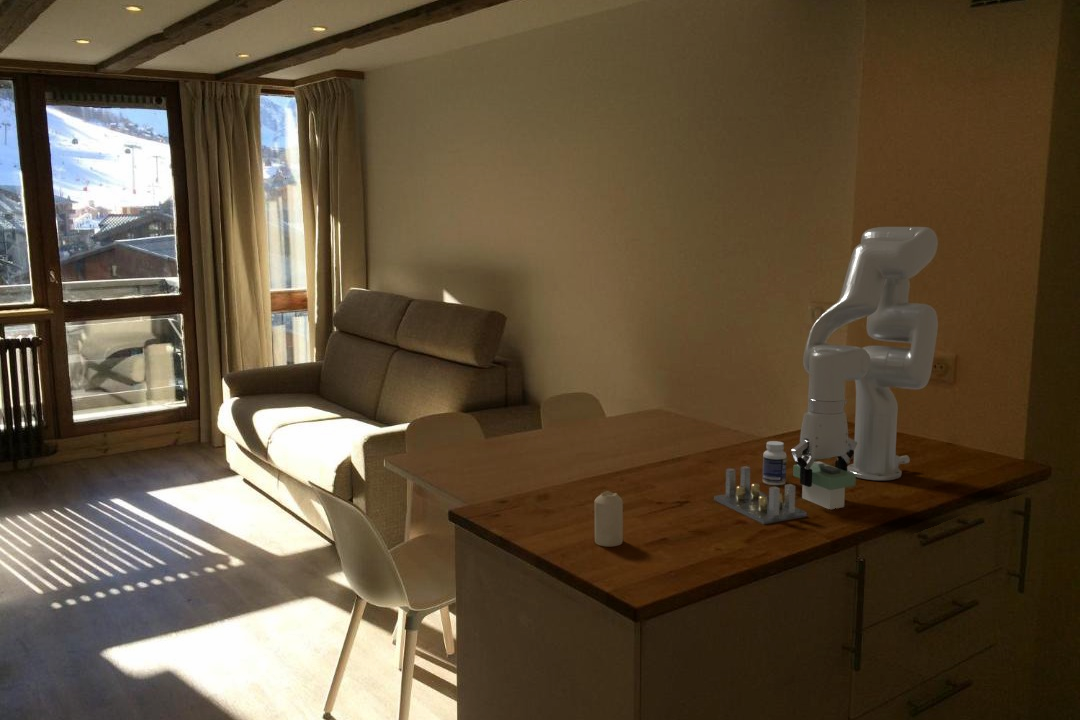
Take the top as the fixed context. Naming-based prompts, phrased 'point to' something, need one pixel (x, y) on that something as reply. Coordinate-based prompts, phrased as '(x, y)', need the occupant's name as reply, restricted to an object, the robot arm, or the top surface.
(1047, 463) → the top surface
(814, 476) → the board
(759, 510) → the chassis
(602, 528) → the candle
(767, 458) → the pill bottle
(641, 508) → the top surface
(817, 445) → the robot arm
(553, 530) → the top surface
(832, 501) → the block
